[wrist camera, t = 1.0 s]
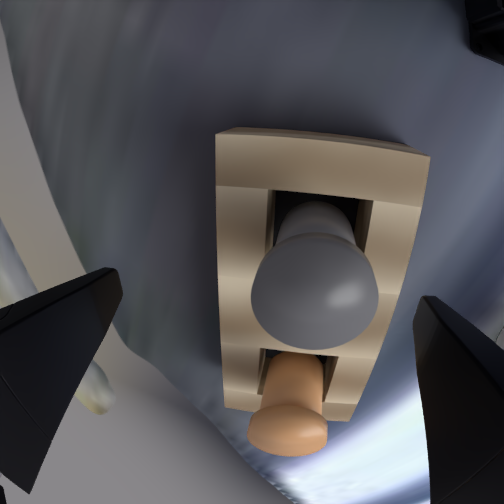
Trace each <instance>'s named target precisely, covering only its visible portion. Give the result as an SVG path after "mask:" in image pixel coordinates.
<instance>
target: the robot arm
mask: <svg viewBox="0 0 504 504" xmlns="http://www.w3.org/2000/svg"><path fill="white" fill-rule="evenodd" d="M465 5H466V17H467V19H468V21H469V32H470V48H471V50H472V51H473V52H474V53H475V54H477V55H479V56H482V57H484V58H487V59H489V60H492V61H494V62H497V63H499V64H501V65H503V66H504V0H465ZM476 44H478V45H479V47H480V50H478V49H477V47H476ZM122 296H123V290H122V286H121V282H120V278H119V274H118V271H117V270H116V269H114V268H107V267H104V268H101V269H99V270H96V271H93V272H91V273H88V274H86V275H83V276H80V277H78V278H75V279H73V280H70V281H68V282H65V283H63V284H60V285H58V286H55V287H53V288H50V289H48V290H45V291H43V292H40V293H38V294H35V295H33V296H30V297H28V298H25V299H23V300H21V301H18V302H16V303H14V304H11V305H8V306H6V307H4V308H1V309H0V477H1V475H2V474H3V475H4V476H5V477H7V478H8V479H9V480H10V481H12V482H13V483H14V484H16V485H17V486H18V487H20V488H21V489H22V490H24V491H25V492H27V493H28V494H30V492H31V491H32V488H33V486H34V483H35V480H36V478H37V475H38V473H39V471H40V468H41V466H42V463H43V461H44V458H45V456H46V454H47V452H48V449H49V447H50V445H51V442H52V440H53V438H54V435H55V433H56V431H57V429H58V427H59V425H60V422H61V420H62V418H63V416H64V414H65V412H66V410H67V408H68V406H69V403H70V402H71V399H72V398H73V395H74V394H75V392H76V390H77V388H78V386H79V384H80V382H81V380H82V378H83V376H84V374H85V372H86V370H87V368H88V366H89V365H90V363H91V361H92V359H93V357H94V355H95V353H96V351H97V350H98V348H99V346H100V344H101V342H102V341H103V339H104V337H105V335H106V333H107V331H108V328H109V326H110V324H111V321H112V319H113V317H114V315H115V312H116V310H117V308H118V306H119V304H120V301H121V299H122ZM413 334H414V344H415V356H416V368H417V376H418V383H419V389H420V395H421V401H422V408H423V415H424V423H425V431H426V440H427V450H428V462H429V477H430V504H504V350H503V349H502V348H501V347H500V346H498V345H497V344H496V343H495V342H494V341H492V340H491V339H490V338H489V337H487V336H486V335H485V334H484V333H482V332H481V331H480V330H479V329H477V328H476V327H475V326H474V325H472V324H471V323H470V322H469V321H467V320H466V319H465V318H464V317H462V316H461V315H460V314H458V313H457V312H456V311H454V310H453V309H452V308H451V307H449V306H448V305H447V304H445V303H444V302H443V301H441V300H440V299H439V298H437V297H436V296H422V297H421V299H420V301H419V304H418V307H417V310H416V313H415V316H414V320H413ZM0 504H6V499H5V494H4V489H3V487H2V486H1V485H0Z"/></svg>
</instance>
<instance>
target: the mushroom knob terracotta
mask: <svg viewBox="0 0 504 504" xmlns="http://www.w3.org/2000/svg"><path fill="white" fill-rule="evenodd" d="M322 393H323V365H322V362H321V361H320V360H319V359H318V358H317V357H316V356H314V355H313V354H307V353H298V352H289V351H285V352H281V353H279V354H277V355H276V356H274V357H273V358H272V359H271V361H270V363H269V367H268V372H267V377H266V381H265V386H264V391H263V396H262V400H261V405H260V410H258V411H257V412H255V413H254V414H253V415H252V417H251V419H250V423H249V427H248V431H247V438H248V440H249V441H250V443H251V444H252V445H254V446H255V447H257V448H258V449H260V450H262V451H265V452H268V453H271V454H275V455H280V456H303V455H308V454H312V453H315V452H317V451H319V450H320V449H322V448H323V447H324V446H325V444H326V442H327V428H328V425H327V421H326V420H325V418H324V417H323V416H322V415H321V414H322Z"/></svg>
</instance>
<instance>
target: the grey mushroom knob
mask: <svg viewBox="0 0 504 504" xmlns="http://www.w3.org/2000/svg"><path fill="white" fill-rule="evenodd" d="M378 300H379V293H378V287H377V283H376V279H375V276H374V272H373V269H372V266H371V264H370V262H369V260H368V258H367V257H366V255H365V254H364V253H363V252H362V251H361V250H360V249H359V248H358V247H357V246H356V243H355V239H354V235H353V231H352V227H351V224H350V222H349V220H348V218H347V217H346V215H345V214H344V213H343V212H342V211H341V210H340V209H339V208H337V207H335V206H334V205H332V204H329V203H326V202H321V201H310V202H305V203H302V204H300V205H298V206H296V207H294V208H293V209H292V210H290V211H289V212H288V213H287V215H286V216H285V217H284V219H283V221H282V223H281V226H280V230H279V233H278V237H277V241H276V244H275V246H274V247H273V248H271V249H270V250H269V251H268V253H267V254H266V255H265V256H264V258H263V259H262V261H261V263H260V265H259V267H258V270H257V273H256V276H255V279H254V282H253V285H252V289H251V305H252V310H253V313H254V315H255V317H256V319H257V321H258V322H259V324H260V325H261V327H262V328H263V329H264V330H265V331H266V332H267V333H268V334H270V335H271V336H272V337H273V338H275V339H277V340H278V341H280V342H282V343H284V344H286V345H289V346H292V347H296V348H300V349H306V350H323V349H330V348H334V347H337V346H340V345H343V344H345V343H347V342H349V341H351V340H353V339H354V338H356V337H357V336H358V335H360V334H361V333H362V332H363V331H364V330H365V329H366V328H367V327H368V325H369V324H370V323H371V321H372V319H373V318H374V316H375V313H376V311H377V307H378Z"/></svg>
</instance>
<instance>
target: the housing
mask: <svg viewBox="0 0 504 504" xmlns="http://www.w3.org/2000/svg"><path fill="white" fill-rule="evenodd" d="M429 164H430V156H428V155H426V154H424V153H422V152H420V151H418V150H416V149H414V148H412V147H410V146H408V145H405V144H400V143H394V142H388V141H382V140H376V139H369V138H362V137H355V136H347V135H339V134H330V133H320V132H310V131H298V130H285V129H269V128H246V127H235V128H232V129H229V130H226V131H223V132H220V133H218V134H216V227H217V263H218V291H219V315H220V336H221V354H222V371H223V387H224V402H225V407H228V408H233V409H239V410H245V411H251V412H257V411H258V410H260V405H261V400H262V396H263V391H264V386H265V381H266V377H267V372H268V367H269V363H270V361H271V359H272V358H268V357H265V354H266V349H273V350H281V351H289V352H298V353H307V354H317V355H328V357H327V361H326V364H322V365H323V393H322V414H321V415H322V416H323V417H324V418H325V420H331V421H349V420H350V418H351V416H352V414H353V412H354V410H355V408H356V406H357V404H358V401H359V399H360V397H361V395H362V392H363V390H364V388H365V386H366V383H367V381H368V379H369V376H370V374H371V371H372V369H373V367H374V364H375V362H376V359H377V357H378V354H379V351H380V349H381V346H382V343H383V341H384V338H385V335H386V333H387V330H388V327H389V324H390V321H391V318H392V315H393V312H394V309H395V306H396V303H397V300H398V297H399V294H400V291H401V287H402V284H403V281H404V277H405V274H406V270H407V266H408V263H409V259H410V255H411V252H412V248H413V244H414V240H415V235H416V231H417V227H418V222H419V218H420V213H421V208H422V204H423V198H424V193H425V188H426V182H427V176H428V170H429ZM276 190H283V191H294V192H305V193H315V194H324V195H333V196H342V197H350V198H358V199H359V203H358V210H357V217H356V223H355V229H354V239H355V243H356V246H357V247H358V248H359V249H360V250H361V251H362V252H363V253H364V254H365V255H366V257H367V258H368V260H369V262H370V264H371V266H372V269H373V272H374V276H375V279H376V283H377V287H378V293H379V300H378V307H377V311H376V313H375V316H374V318H373V319H372V321H371V323H370V324H369V325H368V327H367V328H366V329H365V330H364V331H363V332H362V333H361V334H360V335H358V336H357V337H356V338H354V339H353V340H351V341H349V342H347V343H345V344H343V345H340V346H337V347H334V348H330V349H323V350H306V349H300V348H296V347H292V346H289V345H286V344H284V343H282V342H280V341H278V340H277V339H275V338H273V337H272V336H271V335H270V334H268V333H267V332H266V331H265V330H264V329H263V328H262V327H261V325H260V324H259V322H258V321H257V319H256V317H255V315H254V313H253V310H252V305H251V289H252V285H253V282H254V279H255V276H256V273H257V270H258V267H259V265H260V263H261V261H262V259H263V258H264V256H265V255H266V254H267V253H268V251H269V250H270V249H271V248H273V236H274V218H275V200H276Z"/></svg>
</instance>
